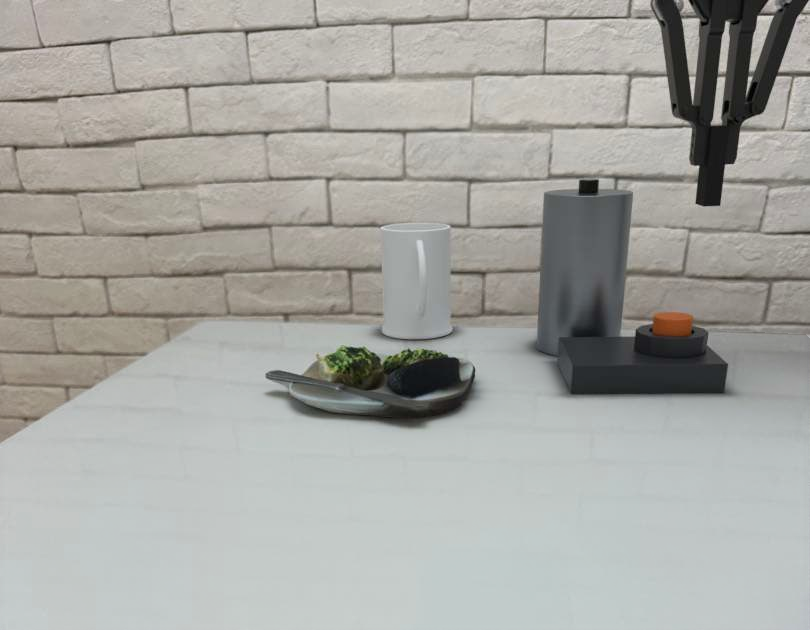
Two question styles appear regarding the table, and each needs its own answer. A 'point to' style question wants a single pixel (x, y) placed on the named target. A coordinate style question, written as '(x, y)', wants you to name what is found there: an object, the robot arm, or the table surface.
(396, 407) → the salad plate
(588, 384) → the dark grey button base
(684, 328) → the kettle button
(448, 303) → the mug
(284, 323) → the table surface
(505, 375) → the table surface
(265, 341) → the table surface
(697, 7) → the robot arm
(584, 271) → the grey canister
